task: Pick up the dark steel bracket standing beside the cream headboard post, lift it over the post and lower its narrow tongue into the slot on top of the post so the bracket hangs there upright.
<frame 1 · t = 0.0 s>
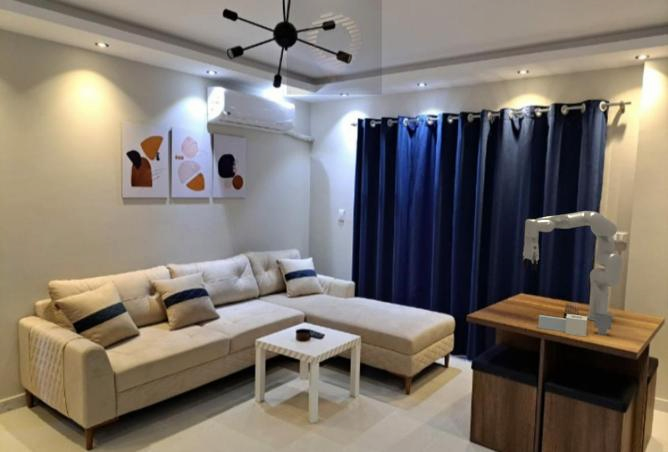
hand: (529, 268, 285), 31 cm above the table, fingers open, 9 cm apart
headboard post: (575, 333, 264), on the table
steel bracket: (602, 334, 263), on the table
ammunition clip: (570, 323, 282), on the table
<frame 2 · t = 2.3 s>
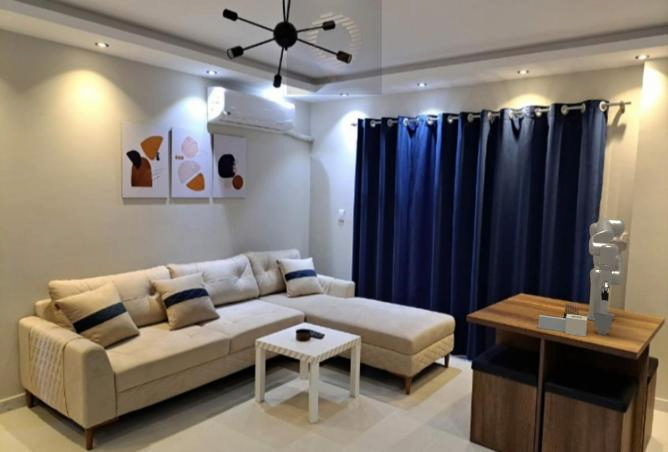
hand: (604, 298, 261), 20 cm above the table, fingers open, 9 cm apart
nothing on the table moved.
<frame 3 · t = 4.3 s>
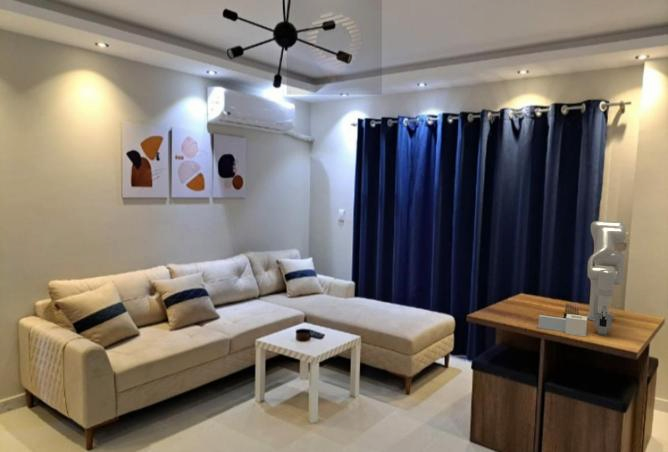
hand: (602, 325, 263), 5 cm above the table, fingers closed on steel bracket, 3 cm apart
steel bracket: (602, 334, 263), on the table, touching gripper
everything else where it was.
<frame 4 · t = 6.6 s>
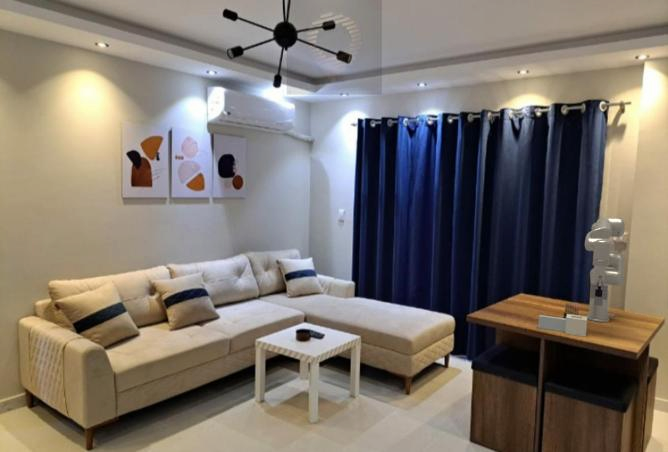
hand: (598, 295, 261), 21 cm above the table, fingers closed on steel bracket, 3 cm apart
steel bracket: (597, 304, 262), point 16 cm above the table, touching gripper
everything else where it was.
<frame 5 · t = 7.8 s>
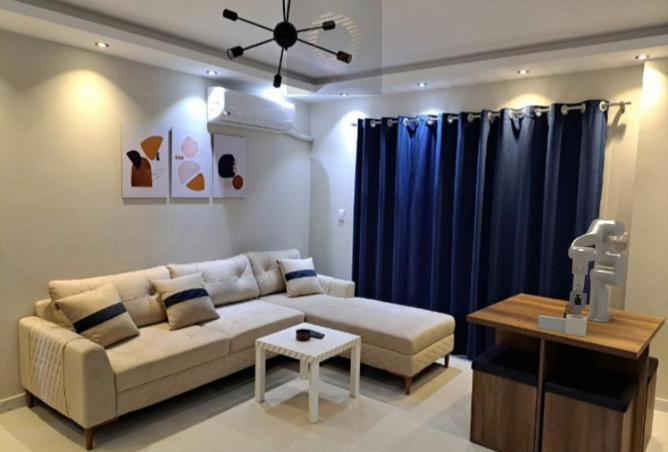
hand: (577, 303, 262), 16 cm above the table, fingers closed on steel bracket, 3 cm apart
steel bracket: (577, 312, 263), point 11 cm above the table, touching gripper
everything else where it was.
when the fingers open (12 cm above the table, at t = 9.0 s): steel bracket drops 1 cm, resting on headboard post.
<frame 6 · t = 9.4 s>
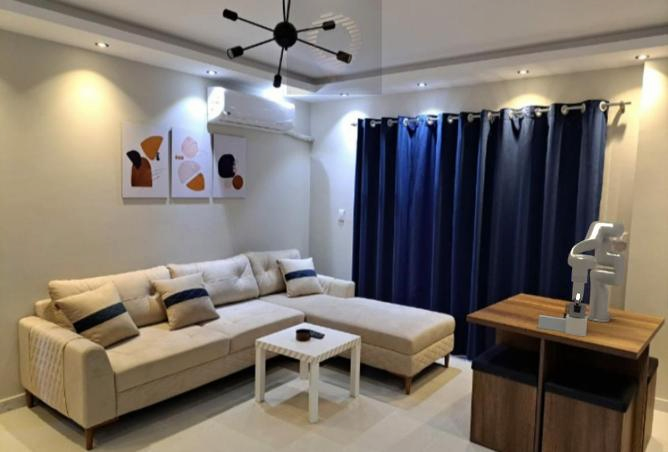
hand: (577, 310, 263), 13 cm above the table, fingers open, 7 cm apart
steel bracket: (576, 323, 263), point 5 cm above the table, touching headboard post
everything else where it was.
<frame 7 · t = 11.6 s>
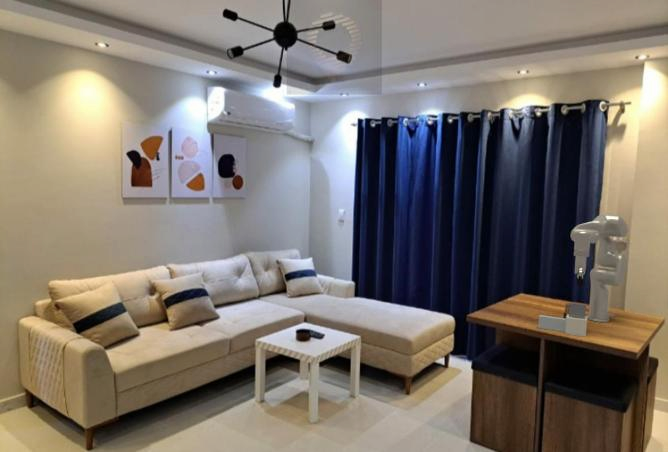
hand: (579, 283, 266), 27 cm above the table, fingers open, 9 cm apart
nothing on the table moved.
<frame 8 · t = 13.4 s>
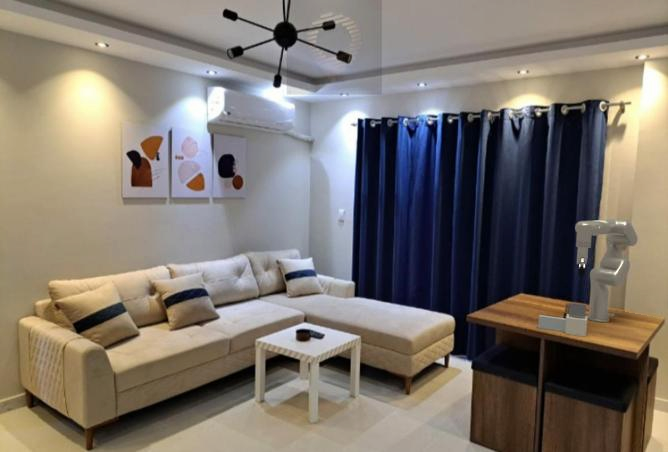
hand: (581, 274, 276), 30 cm above the table, fingers open, 9 cm apart
nothing on the table moved.
at the end: steel bracket 0.2 cm off-centre on the headboard post, point 5.5 cm above the headboard post's base; steel bracket tilted 0°; the gripper is holding nothing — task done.
